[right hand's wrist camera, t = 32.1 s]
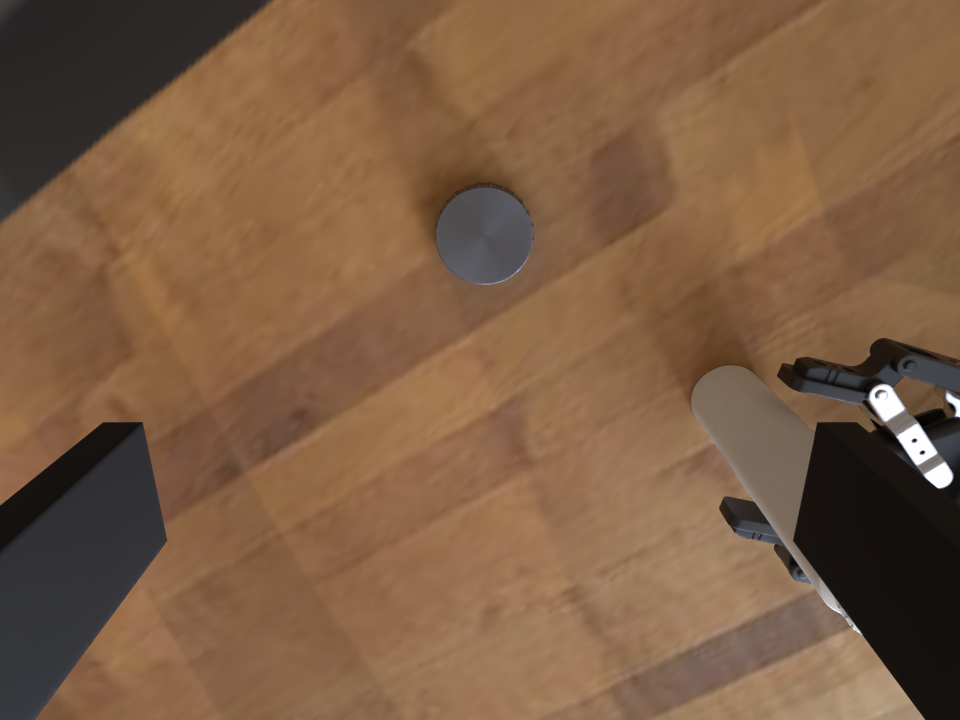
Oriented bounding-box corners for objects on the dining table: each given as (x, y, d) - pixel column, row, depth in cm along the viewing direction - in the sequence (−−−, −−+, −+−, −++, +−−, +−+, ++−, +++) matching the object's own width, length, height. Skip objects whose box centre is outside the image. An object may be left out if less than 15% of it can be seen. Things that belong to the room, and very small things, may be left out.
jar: (675, 401, 41) (814, 610, 24) (728, 351, 39) (914, 533, 22) (723, 441, 42) (890, 668, 25) (776, 393, 40) (989, 597, 23)
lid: (486, 296, 38) (486, 305, 36) (417, 233, 37) (413, 239, 35) (551, 229, 37) (555, 235, 35) (482, 161, 35) (482, 163, 34)
